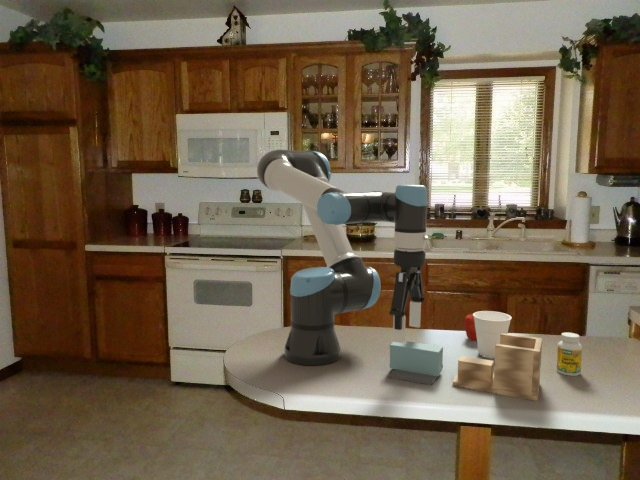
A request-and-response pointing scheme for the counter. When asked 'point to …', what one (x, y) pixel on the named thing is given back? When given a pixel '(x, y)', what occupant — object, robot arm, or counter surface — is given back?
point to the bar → (416, 357)
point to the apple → (470, 327)
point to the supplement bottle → (569, 355)
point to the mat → (413, 376)
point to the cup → (490, 330)
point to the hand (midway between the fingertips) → (407, 334)
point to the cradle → (505, 368)
